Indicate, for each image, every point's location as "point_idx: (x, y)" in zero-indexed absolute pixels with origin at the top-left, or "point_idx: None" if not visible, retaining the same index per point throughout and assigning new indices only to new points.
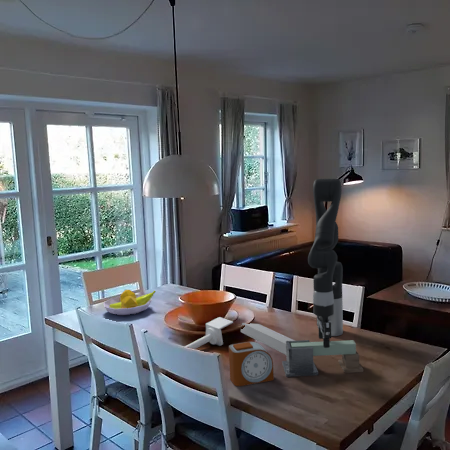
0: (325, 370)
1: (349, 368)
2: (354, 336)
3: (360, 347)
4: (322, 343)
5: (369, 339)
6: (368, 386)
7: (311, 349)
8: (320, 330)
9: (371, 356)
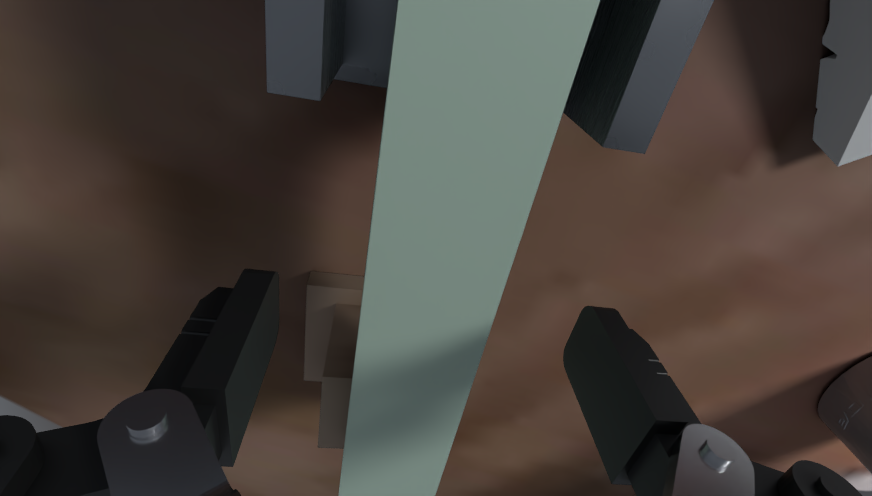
0: None
1: (323, 318)
2: (750, 452)
3: None
4: (433, 291)
5: None
6: (101, 330)
7: (274, 56)
8: (636, 427)
9: (490, 446)
